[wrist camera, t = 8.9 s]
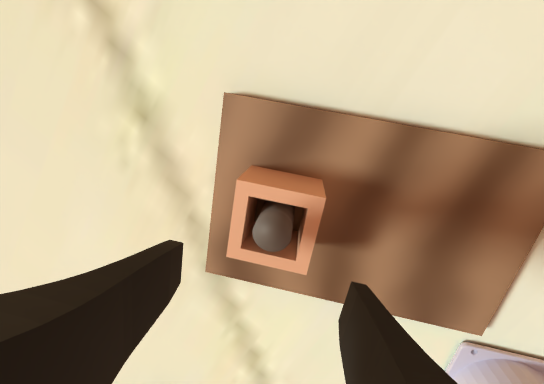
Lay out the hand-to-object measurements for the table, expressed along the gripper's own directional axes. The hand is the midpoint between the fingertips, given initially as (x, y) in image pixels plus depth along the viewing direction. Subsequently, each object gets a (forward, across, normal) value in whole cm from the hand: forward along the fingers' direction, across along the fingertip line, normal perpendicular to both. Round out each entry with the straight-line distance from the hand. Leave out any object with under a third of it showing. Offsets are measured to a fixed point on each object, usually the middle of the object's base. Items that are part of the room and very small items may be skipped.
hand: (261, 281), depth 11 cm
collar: (+8, 0, 0) cm, 8 cm away
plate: (+9, -6, 0) cm, 11 cm away
